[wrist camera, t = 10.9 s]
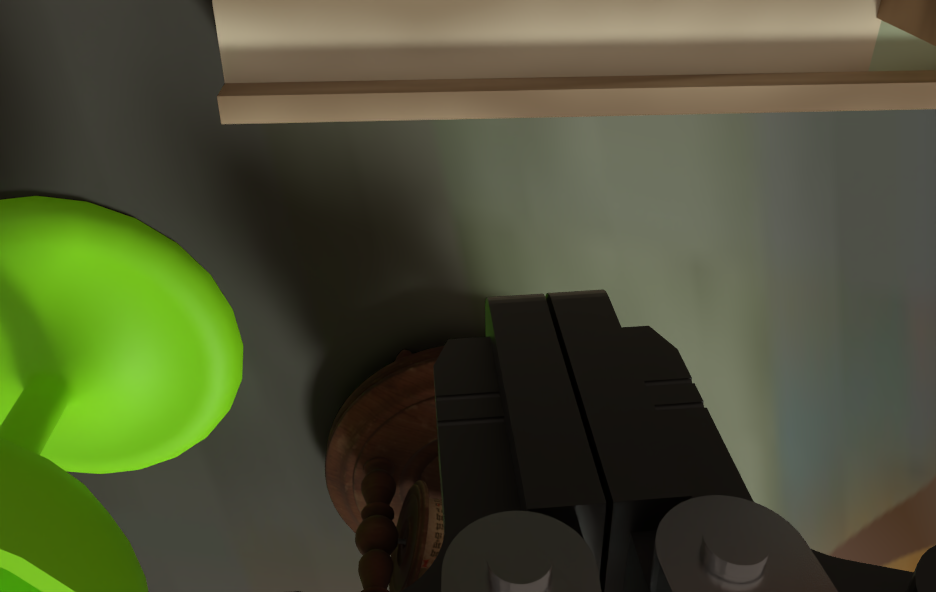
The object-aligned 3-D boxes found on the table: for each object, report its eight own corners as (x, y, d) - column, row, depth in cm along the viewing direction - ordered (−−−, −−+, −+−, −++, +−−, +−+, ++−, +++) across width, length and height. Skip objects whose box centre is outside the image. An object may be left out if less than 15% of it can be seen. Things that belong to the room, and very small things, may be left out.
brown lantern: (302, 510, 47) (245, 923, 30) (366, 296, 40) (340, 678, 23) (544, 551, 50) (617, 945, 33) (643, 360, 43) (803, 738, 26)
